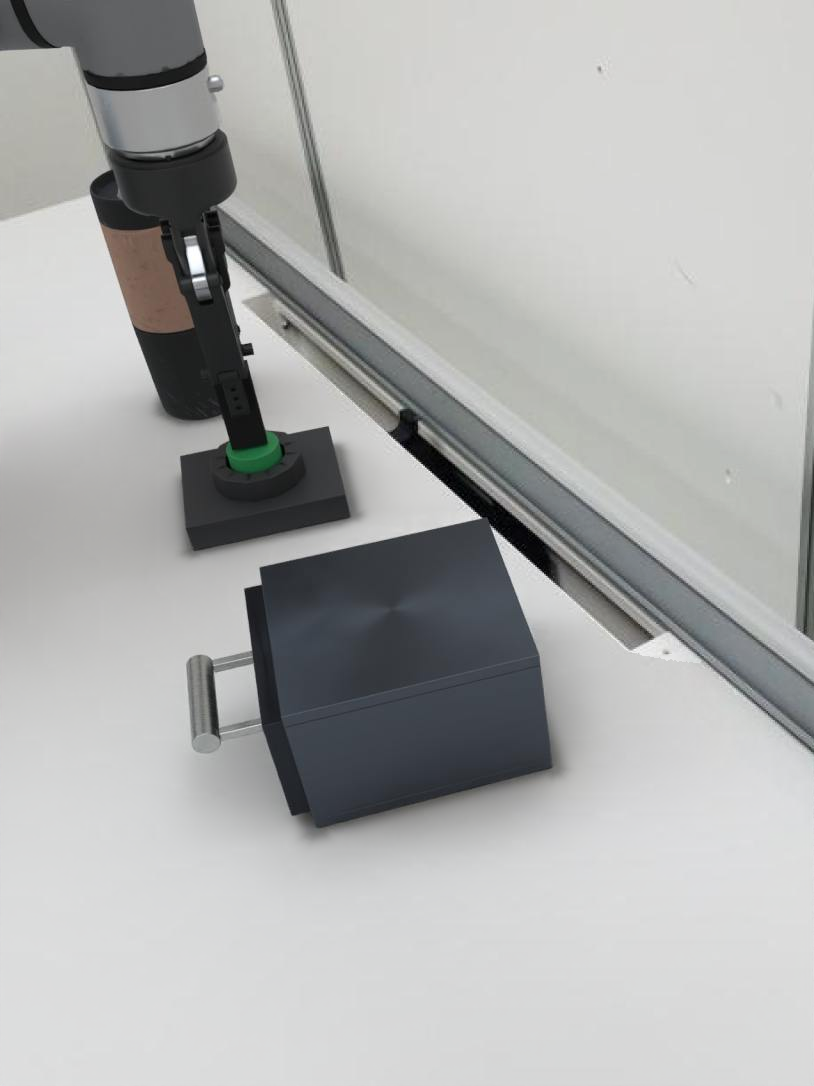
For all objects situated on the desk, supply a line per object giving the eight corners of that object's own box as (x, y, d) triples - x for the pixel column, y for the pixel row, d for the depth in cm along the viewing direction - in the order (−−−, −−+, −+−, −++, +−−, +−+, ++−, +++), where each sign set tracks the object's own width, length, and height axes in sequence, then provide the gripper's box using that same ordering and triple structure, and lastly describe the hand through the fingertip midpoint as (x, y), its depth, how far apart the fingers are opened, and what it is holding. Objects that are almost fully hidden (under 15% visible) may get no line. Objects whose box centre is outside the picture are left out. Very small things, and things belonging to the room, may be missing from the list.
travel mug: (151, 390, 114) (78, 174, 101) (234, 366, 117) (174, 152, 104) (170, 431, 109) (97, 209, 96) (257, 405, 112) (197, 185, 98)
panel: (193, 551, 97) (179, 509, 94) (187, 477, 104) (173, 437, 101) (350, 517, 99) (341, 475, 96) (333, 447, 106) (324, 406, 103)
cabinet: (316, 828, 76) (281, 717, 70) (291, 676, 86) (258, 566, 79) (552, 767, 79) (539, 655, 72) (502, 626, 88) (487, 516, 82)
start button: (233, 482, 97) (227, 463, 96) (229, 454, 100) (223, 435, 99) (285, 471, 98) (280, 453, 97) (280, 444, 101) (275, 425, 100)
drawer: (216, 835, 75) (180, 746, 70) (204, 692, 84) (171, 604, 79) (512, 760, 78) (499, 669, 73) (470, 630, 87) (455, 540, 82)
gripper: (232, 166, 78) (308, 479, 94) (218, 94, 88) (289, 389, 103) (106, 186, 77) (204, 500, 92) (105, 111, 86) (195, 407, 102)
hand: (249, 441), depth 98 cm, fingers closed
